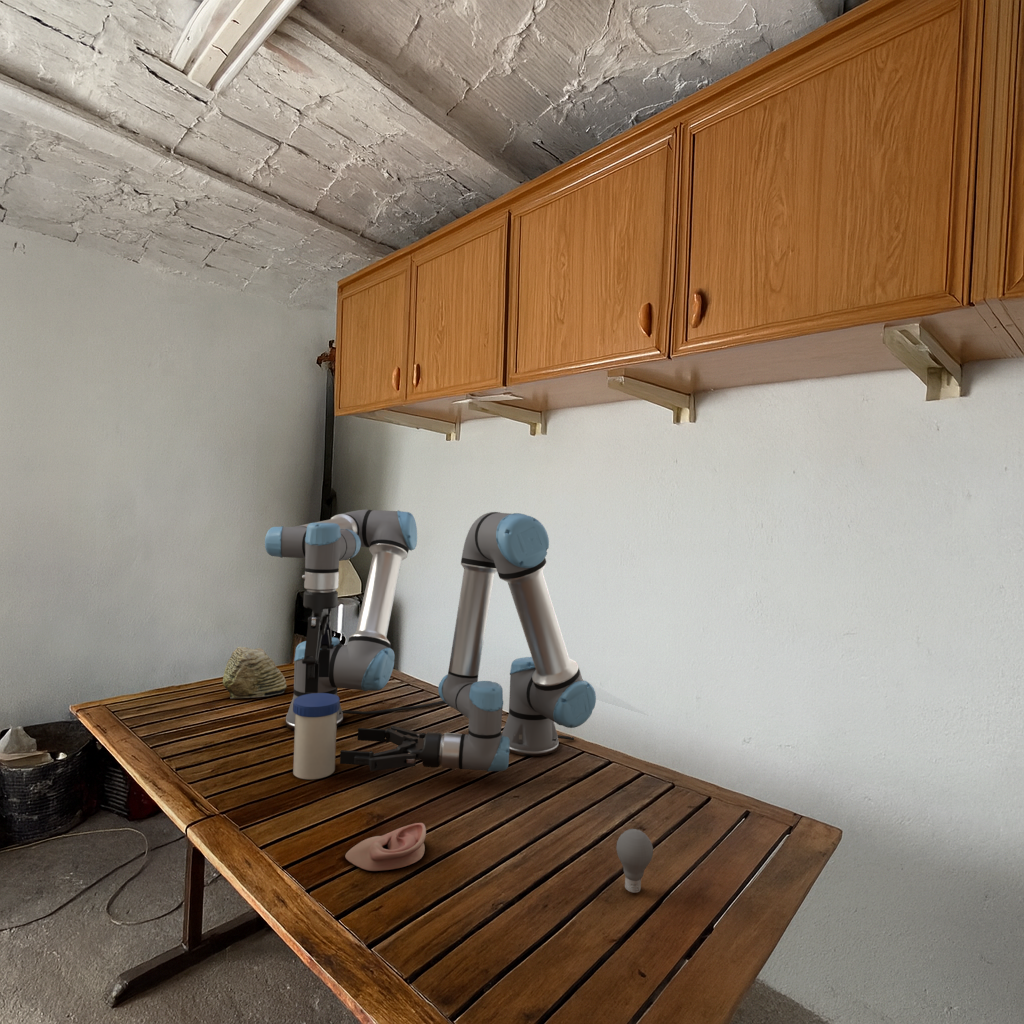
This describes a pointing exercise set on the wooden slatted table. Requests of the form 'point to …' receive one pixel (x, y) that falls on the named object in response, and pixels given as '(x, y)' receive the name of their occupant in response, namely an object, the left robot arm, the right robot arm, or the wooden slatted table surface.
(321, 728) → the jar
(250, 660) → the fossil
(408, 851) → the anatomical model
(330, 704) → the lid
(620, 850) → the light bulb
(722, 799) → the wooden slatted table surface
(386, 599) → the left robot arm
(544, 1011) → the wooden slatted table surface
